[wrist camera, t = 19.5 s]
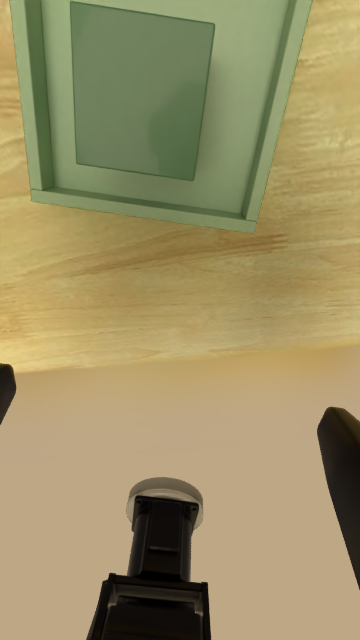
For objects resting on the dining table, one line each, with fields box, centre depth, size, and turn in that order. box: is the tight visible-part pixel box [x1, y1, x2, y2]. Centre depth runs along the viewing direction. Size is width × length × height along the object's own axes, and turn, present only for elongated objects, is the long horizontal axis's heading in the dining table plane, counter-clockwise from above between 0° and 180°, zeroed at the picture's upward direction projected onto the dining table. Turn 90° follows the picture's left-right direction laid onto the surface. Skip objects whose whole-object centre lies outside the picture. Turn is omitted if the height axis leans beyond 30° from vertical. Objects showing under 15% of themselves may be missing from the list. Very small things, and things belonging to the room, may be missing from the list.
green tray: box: [9, 0, 312, 234], centre depth 14 cm, size 11×11×2 cm
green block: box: [70, 1, 215, 181], centre depth 13 cm, size 4×4×4 cm
